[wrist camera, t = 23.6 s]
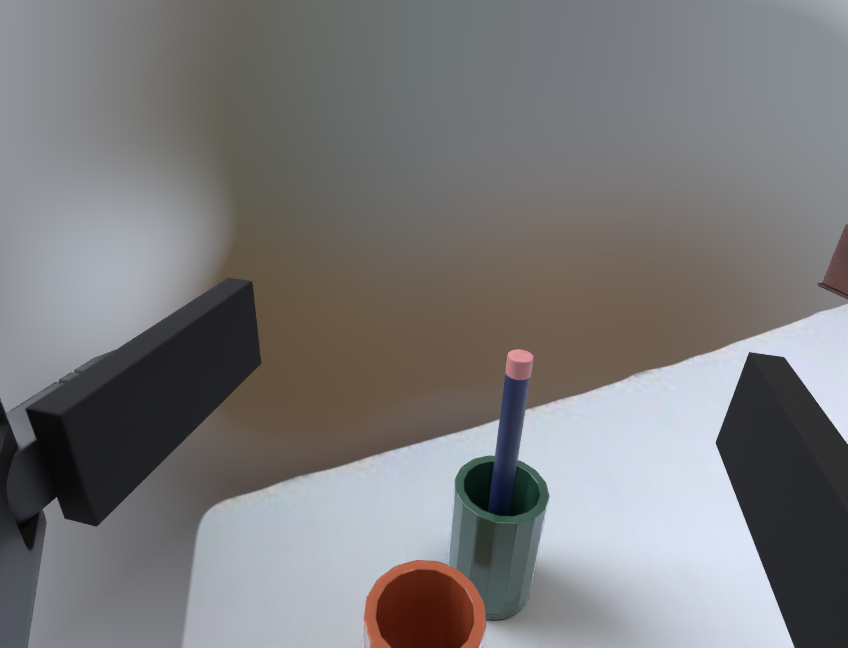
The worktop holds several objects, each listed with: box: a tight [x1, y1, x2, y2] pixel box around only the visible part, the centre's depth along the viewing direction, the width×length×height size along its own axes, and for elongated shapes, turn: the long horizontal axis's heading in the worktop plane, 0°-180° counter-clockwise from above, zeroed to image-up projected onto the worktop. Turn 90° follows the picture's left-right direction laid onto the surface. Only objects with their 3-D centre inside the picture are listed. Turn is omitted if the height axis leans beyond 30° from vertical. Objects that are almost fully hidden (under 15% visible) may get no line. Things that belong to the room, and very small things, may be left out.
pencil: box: [488, 350, 533, 516], centre depth 34 cm, size 1×1×18 cm
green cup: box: [447, 456, 549, 620], centre depth 36 cm, size 6×6×9 cm
